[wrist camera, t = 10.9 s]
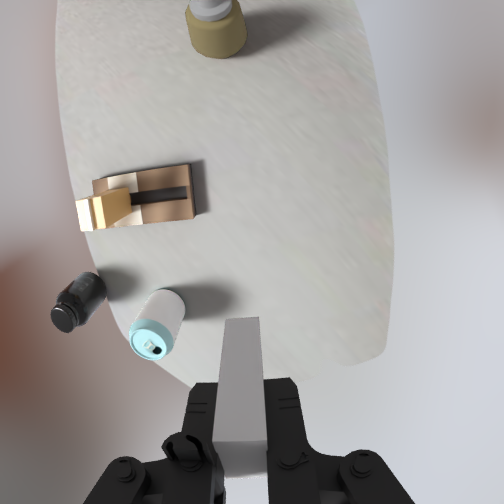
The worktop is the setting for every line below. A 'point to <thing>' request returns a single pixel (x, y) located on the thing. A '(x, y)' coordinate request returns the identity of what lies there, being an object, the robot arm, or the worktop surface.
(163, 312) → the can
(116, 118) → the worktop surface
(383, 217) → the worktop surface
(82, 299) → the supplement bottle
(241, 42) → the squeeze bottle
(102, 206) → the fader tab
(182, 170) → the console
